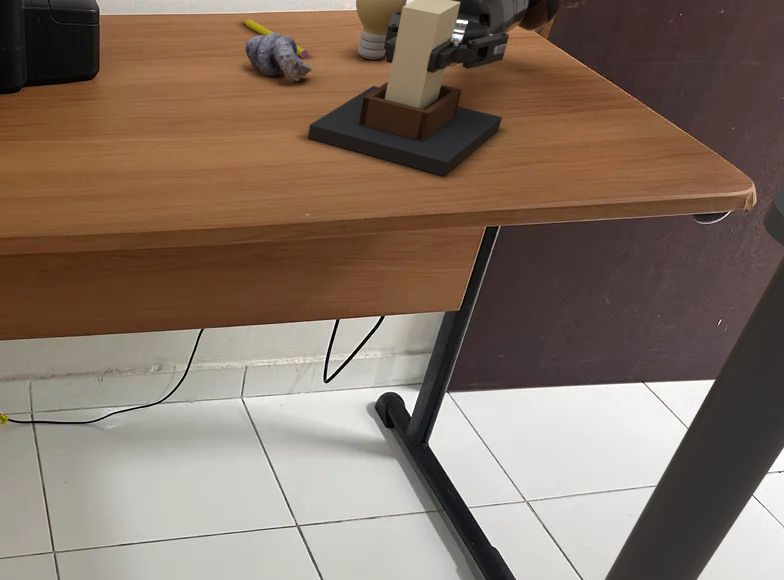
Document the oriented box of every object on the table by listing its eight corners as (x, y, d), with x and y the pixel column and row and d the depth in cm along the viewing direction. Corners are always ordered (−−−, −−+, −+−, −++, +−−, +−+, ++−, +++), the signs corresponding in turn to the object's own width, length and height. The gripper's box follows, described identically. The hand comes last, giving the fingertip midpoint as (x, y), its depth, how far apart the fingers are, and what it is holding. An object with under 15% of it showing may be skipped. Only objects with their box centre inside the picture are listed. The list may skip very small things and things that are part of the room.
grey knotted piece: (306, 93, 114) (245, 75, 119) (326, 52, 112) (264, 36, 118) (288, 73, 109) (226, 56, 114) (308, 30, 108) (245, 15, 113)
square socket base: (498, 130, 102) (510, 89, 99) (443, 176, 93) (454, 133, 90) (371, 98, 109) (378, 59, 106) (307, 138, 100) (313, 96, 97)
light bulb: (363, 66, 118) (378, -18, 111) (338, 51, 122) (351, -31, 115) (404, 61, 120) (421, -22, 113) (378, 47, 124) (393, -34, 117)
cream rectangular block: (436, 109, 100) (461, 2, 93) (415, 124, 97) (440, 14, 90) (402, 100, 102) (424, -6, 95) (380, 115, 99) (402, 6, 91)
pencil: (307, 57, 120) (308, 49, 120) (300, 58, 120) (301, 50, 119) (246, 23, 131) (247, 16, 131) (240, 24, 131) (241, 16, 130)
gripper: (422, -28, 104) (355, 5, 94) (543, -5, 98) (486, 32, 88) (408, 41, 109) (343, 79, 99) (523, 66, 103) (466, 110, 93)
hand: (411, 57), depth 93 cm, fingers closed on cream rectangular block, 4 cm apart
